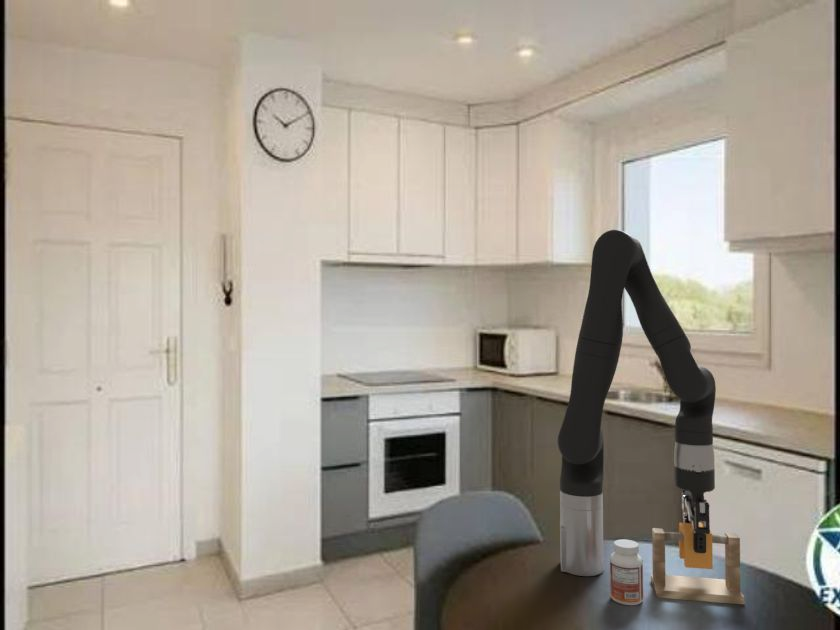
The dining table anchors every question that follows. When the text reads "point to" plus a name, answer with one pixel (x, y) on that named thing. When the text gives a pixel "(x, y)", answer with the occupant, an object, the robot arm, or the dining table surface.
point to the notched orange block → (688, 552)
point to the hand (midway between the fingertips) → (695, 544)
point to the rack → (697, 586)
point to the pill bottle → (626, 573)
